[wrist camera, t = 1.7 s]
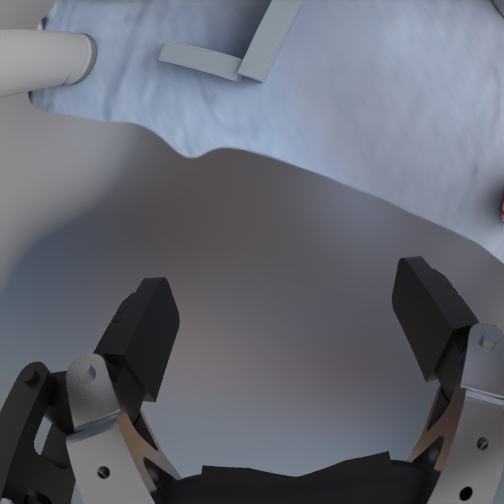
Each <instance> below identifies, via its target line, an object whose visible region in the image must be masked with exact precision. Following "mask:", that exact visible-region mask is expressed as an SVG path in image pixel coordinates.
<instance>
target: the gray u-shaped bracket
mask: <svg viewBox="0 0 504 504" xmlns="http://www.w3.org/2000/svg"><path fill="white" fill-rule="evenodd" d="M303 1H304V0H272V2H271V4H270V5H269V7H268V9H267V11H266V13H265V15H264V17H263V19H262V21H261V23H260V25H259V27H258V29H257V31H256V33H255V35H254V37H253V40H252V42H251V44H250V46H249V48H248V50H247V52H246V55H245V57H244V59H240V58H237V57H234V56H230V55H227V54H224V53H220V52H217V51H213V50H209V49H206V48H202V47H198V46H194V45H189V44H185V43H180V42H175V41H170V40H165V43H164V45H163V48H162V50H161V53H160V55H159V58H158V60H159V61H164V62H168V63H172V64H177V65H181V66H185V67H189V68H193V69H196V70H200V71H203V72H207V73H210V74H214V75H217V76H220V77H223V78H226V79H229V80H233V81H236V82H239V83H240V82H241V80H242V77H243V76H245V77H248V78H251V79H253V80H256V81H259V82H262V83H264V82H265V79H266V77H267V75H268V73H269V71H270V68H271V66H272V64H273V62H274V60H275V58H276V56H277V53H278V51H279V49H280V47H281V45H282V43H283V41H284V39H285V37H286V35H287V33H288V31H289V29H290V27H291V25H292V23H293V21H294V19H295V17H296V15H297V13H298V11H299V9H300V7H301V5H302V3H303Z"/></svg>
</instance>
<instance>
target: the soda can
mask: <svg viewBox="0 0 504 504" xmlns="http://www.w3.org/2000/svg"><path fill="white" fill-rule="evenodd" d="M501 215H502V220H503V223H504V200H503V204H502V210H501Z"/></svg>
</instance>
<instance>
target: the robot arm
mask: <svg viewBox="0 0 504 504" xmlns="http://www.w3.org/2000/svg"><path fill="white" fill-rule="evenodd" d="M493 2H494V4H495V5H496V7H497V8H498V10H499V11H500V13H501V14H502V15H503V16H504V0H493ZM392 305H393V309H394V312H395V314H396V316H397V318H398V320H399V322H400V324H401V326H402V329H403V330H404V333H405V335H406V337H407V339H408V341H409V344H410V346H411V348H412V350H413V353H414V355H415V357H416V359H417V362H418V364H419V366H420V369H421V371H422V373H423V376H424V378H425V381H426V382H429V381H433V380H436V379H438V380H439V382H440V385H439V387H438V389H437V391H436V395H435V398H434V401H433V404H432V407H431V410H430V412H429V415H428V418H427V421H426V423H425V426H424V428H423V431H422V433H421V436H420V438H419V439H418V441H417V443H416V444H415V446H414V447H413V449H412V450H411V452H410V454H409V456H408V458H407V459H406V461H399V460H390V455H389V452H388V451H387V452H383V453H380V454H375V455H370V456H366V457H361V458H356V459H351V460H345V461H342V462H340V463H337V464H335V465H332V466H330V467H327V468H324V469H322V470H319V471H315V472H312V473H310V474H306V475H303V476H299V477H293V476H286V475H280V474H274V473H269V472H264V471H260V470H255V469H251V468H235V467H232V468H231V467H215V466H204V465H203V467H202V474H198V475H194V476H189V477H186V478H183V479H182V478H181V476H180V475H179V473H178V472H177V470H176V469H175V468H174V466H173V465H172V464H171V462H170V461H169V460H168V459H167V457H166V456H165V454H164V453H163V451H162V449H161V447H160V446H159V444H158V441H157V440H156V438H155V436H154V434H153V432H152V430H151V428H150V426H149V424H148V421H147V420H146V417H145V415H144V413H143V411H142V410H141V405H142V402H143V401H148V402H156V398H157V396H158V392H159V389H160V385H161V382H162V379H163V375H164V372H165V369H166V366H167V363H168V360H169V357H170V353H171V350H172V347H173V344H174V341H175V338H176V335H177V332H178V329H179V323H180V319H179V312H178V309H177V306H176V303H175V300H174V298H173V295H172V292H171V289H170V286H169V283H168V281H167V279H166V278H165V277H158V278H145V279H143V281H142V282H141V284H140V285H139V287H138V289H137V291H136V292H135V293H132V294H131V295H130V296H128V297H127V298H126V299H125V300H124V301H123V302H122V303H121V305H120V307H119V308H118V310H117V312H116V314H115V315H114V317H113V319H112V320H111V323H110V324H109V325H108V327H107V329H106V331H105V333H104V335H103V336H102V338H101V340H100V342H99V343H98V345H97V347H96V349H95V351H94V353H93V354H85V355H83V356H80V357H78V358H77V359H76V360H75V361H73V362H72V363H71V365H70V366H69V368H68V370H67V371H62V372H56V373H51V372H50V371H49V370H48V368H47V367H46V366H45V365H44V364H43V363H42V362H33V363H30V364H29V365H27V366H26V367H25V368H24V369H23V370H22V371H21V372H20V374H19V376H18V377H17V379H16V382H15V383H14V385H13V387H12V389H11V391H10V393H9V395H8V397H7V399H6V401H5V403H4V405H3V407H2V409H1V412H0V504H71V499H72V494H73V489H74V485H75V481H76V482H77V485H78V487H79V490H80V494H81V496H82V499H83V502H84V504H492V501H493V499H494V496H495V493H496V490H497V487H498V484H499V481H500V477H501V474H502V470H503V466H504V334H503V332H502V331H501V330H500V329H499V328H498V327H496V326H494V325H492V324H490V323H484V322H482V323H479V321H478V320H477V318H476V317H475V315H474V314H473V313H472V311H471V310H470V308H469V307H468V306H467V304H466V303H465V301H464V300H463V299H462V297H461V296H460V295H458V292H457V291H456V289H455V288H453V287H452V284H451V283H450V282H449V281H448V280H447V278H446V277H445V276H444V275H443V274H441V273H440V272H438V271H437V270H435V269H432V268H431V267H430V266H429V265H428V264H427V262H426V261H425V260H424V259H423V258H422V257H421V256H415V257H406V258H401V259H400V260H399V262H398V267H397V273H396V278H395V283H394V288H393V293H392ZM43 416H44V417H46V418H47V419H48V420H49V421H50V422H51V423H52V425H51V428H50V430H49V433H48V436H47V439H46V441H45V444H44V448H43V450H42V453H41V455H39V454H38V453H37V452H36V451H35V448H34V440H35V436H36V434H37V431H38V429H39V426H40V424H41V421H42V418H43Z"/></svg>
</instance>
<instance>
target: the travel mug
mask: <svg viewBox="0 0 504 504" xmlns="http://www.w3.org/2000/svg"><path fill="white" fill-rule="evenodd" d="M96 54H97V49H96V44H95V41H94V40H93V38H92V37H91V36H89V35H87V34H81V33H72V32H63V31H51V30H26V29H22V30H20V29H16V30H0V98H2V97H6V96H10V95H14V94H19V93H23V92H29V91H34V90H39V89H45V88H51V87H58V86H64V85H73V84H77V83H78V82H80V81H82V80H83V79H84V78H85V77H86V76H87V75H88V74H89V72H90V71H91V69H92V67H93V65H94V63H95V60H96Z"/></svg>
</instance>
